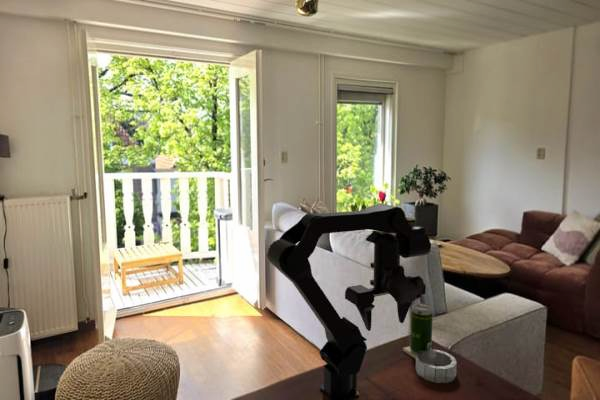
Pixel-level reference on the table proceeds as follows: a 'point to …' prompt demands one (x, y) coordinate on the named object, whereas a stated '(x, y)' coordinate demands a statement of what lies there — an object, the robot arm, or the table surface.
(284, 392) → the table surface
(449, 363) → the ring holder
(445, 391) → the table surface
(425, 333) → the beer can
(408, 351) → the cork coaster
